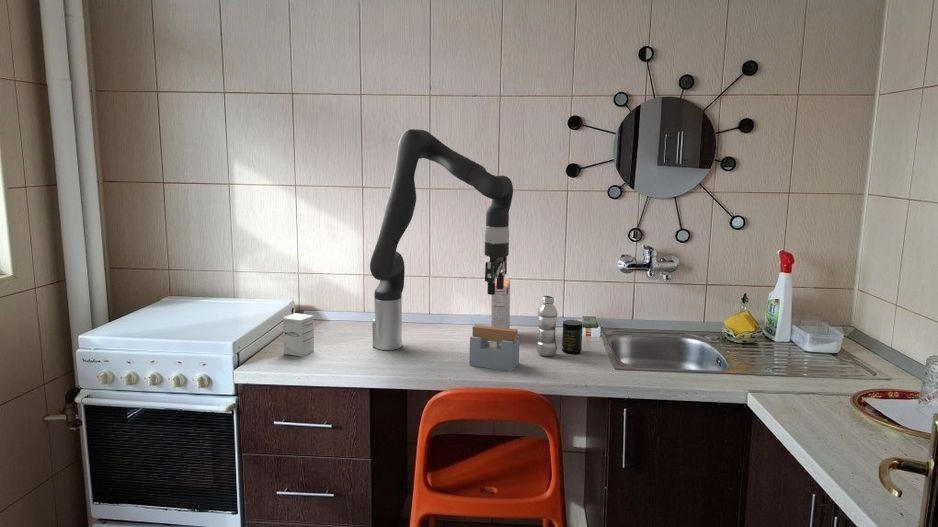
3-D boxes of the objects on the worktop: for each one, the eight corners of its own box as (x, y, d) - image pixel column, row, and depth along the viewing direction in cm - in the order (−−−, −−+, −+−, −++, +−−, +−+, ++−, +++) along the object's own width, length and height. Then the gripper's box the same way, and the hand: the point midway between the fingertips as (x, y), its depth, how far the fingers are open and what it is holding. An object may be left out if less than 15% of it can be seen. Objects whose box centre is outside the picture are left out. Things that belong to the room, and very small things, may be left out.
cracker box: (493, 332, 257) (494, 277, 254) (509, 332, 257) (511, 277, 253) (489, 342, 244) (490, 284, 240) (506, 343, 243) (508, 285, 239)
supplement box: (283, 354, 227) (281, 317, 225) (296, 348, 234) (295, 312, 232) (301, 357, 224) (300, 319, 222) (315, 351, 231) (314, 314, 229)
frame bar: (472, 339, 219) (472, 326, 219) (475, 336, 222) (475, 324, 222) (514, 343, 215) (514, 331, 214) (517, 341, 217) (517, 329, 217)
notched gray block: (469, 365, 218) (469, 337, 217) (478, 358, 226) (478, 331, 224) (511, 371, 214) (512, 342, 212) (518, 363, 221) (519, 335, 219)
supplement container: (583, 355, 230) (584, 325, 229) (562, 354, 231) (563, 324, 229) (580, 349, 237) (581, 320, 235) (560, 348, 237) (561, 319, 235)
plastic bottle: (555, 358, 226) (558, 299, 223) (535, 357, 227) (537, 298, 224) (557, 353, 232) (559, 295, 229) (537, 351, 234) (539, 294, 230)
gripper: (492, 237, 221) (491, 286, 223) (477, 242, 207) (476, 295, 210) (515, 238, 218) (513, 288, 221) (501, 244, 205) (499, 297, 208)
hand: (495, 291), depth 216 cm, fingers open, 8 cm apart
